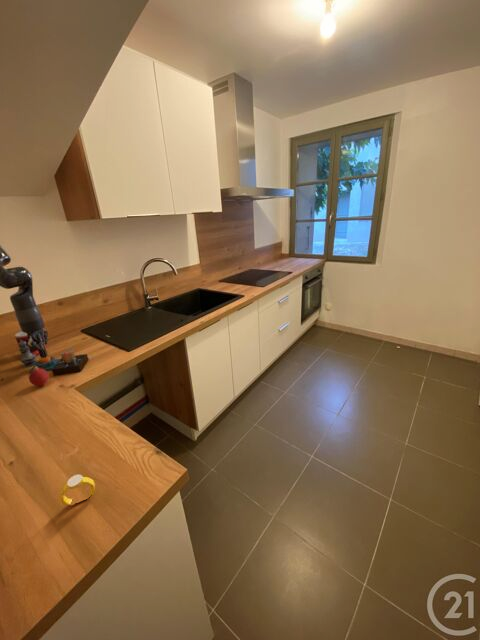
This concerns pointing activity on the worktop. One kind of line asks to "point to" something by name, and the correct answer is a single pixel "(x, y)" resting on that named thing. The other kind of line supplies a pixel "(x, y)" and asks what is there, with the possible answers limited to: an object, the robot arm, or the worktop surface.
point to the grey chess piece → (26, 355)
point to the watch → (74, 483)
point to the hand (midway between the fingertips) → (44, 356)
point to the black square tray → (70, 365)
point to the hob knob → (68, 356)
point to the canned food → (24, 337)
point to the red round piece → (38, 376)
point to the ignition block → (46, 364)
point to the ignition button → (45, 359)
